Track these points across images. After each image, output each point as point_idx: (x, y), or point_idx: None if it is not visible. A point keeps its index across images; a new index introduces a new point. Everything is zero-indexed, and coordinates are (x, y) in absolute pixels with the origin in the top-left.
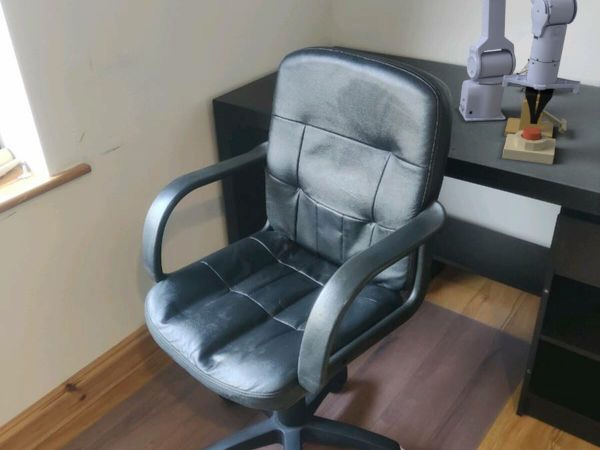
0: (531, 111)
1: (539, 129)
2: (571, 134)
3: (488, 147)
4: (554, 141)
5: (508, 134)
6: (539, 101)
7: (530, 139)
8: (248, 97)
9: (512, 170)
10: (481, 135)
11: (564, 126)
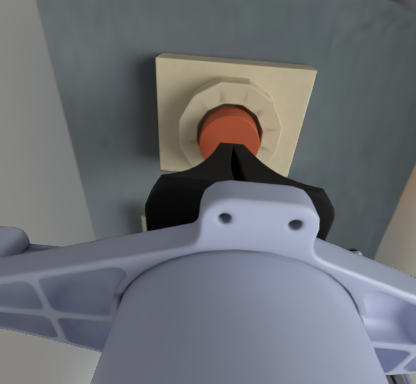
0: (253, 161)
1: (206, 155)
2: (136, 226)
3: (334, 132)
4: (162, 154)
5: (284, 176)
6: (227, 176)
7: (233, 109)
8: None
9: None
10: (337, 195)
11: (146, 230)
